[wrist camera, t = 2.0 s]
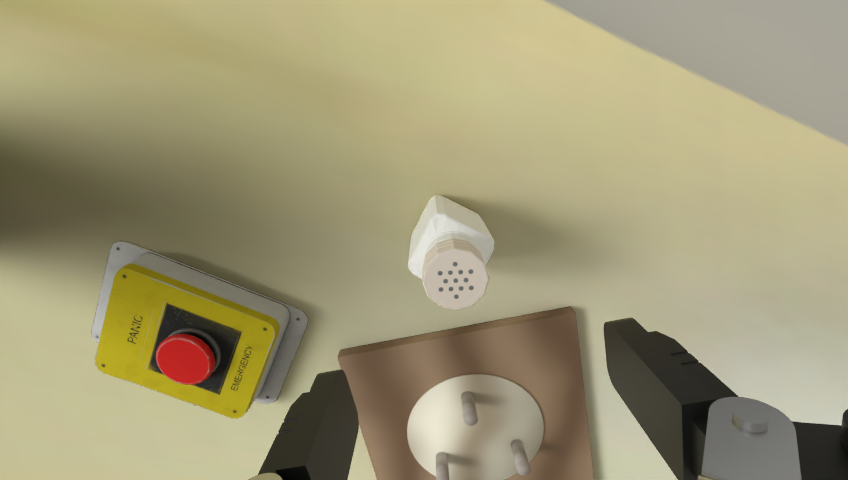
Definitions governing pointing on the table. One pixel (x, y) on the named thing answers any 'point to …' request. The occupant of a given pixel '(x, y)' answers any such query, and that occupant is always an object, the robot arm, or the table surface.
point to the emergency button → (192, 333)
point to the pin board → (475, 401)
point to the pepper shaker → (451, 253)
